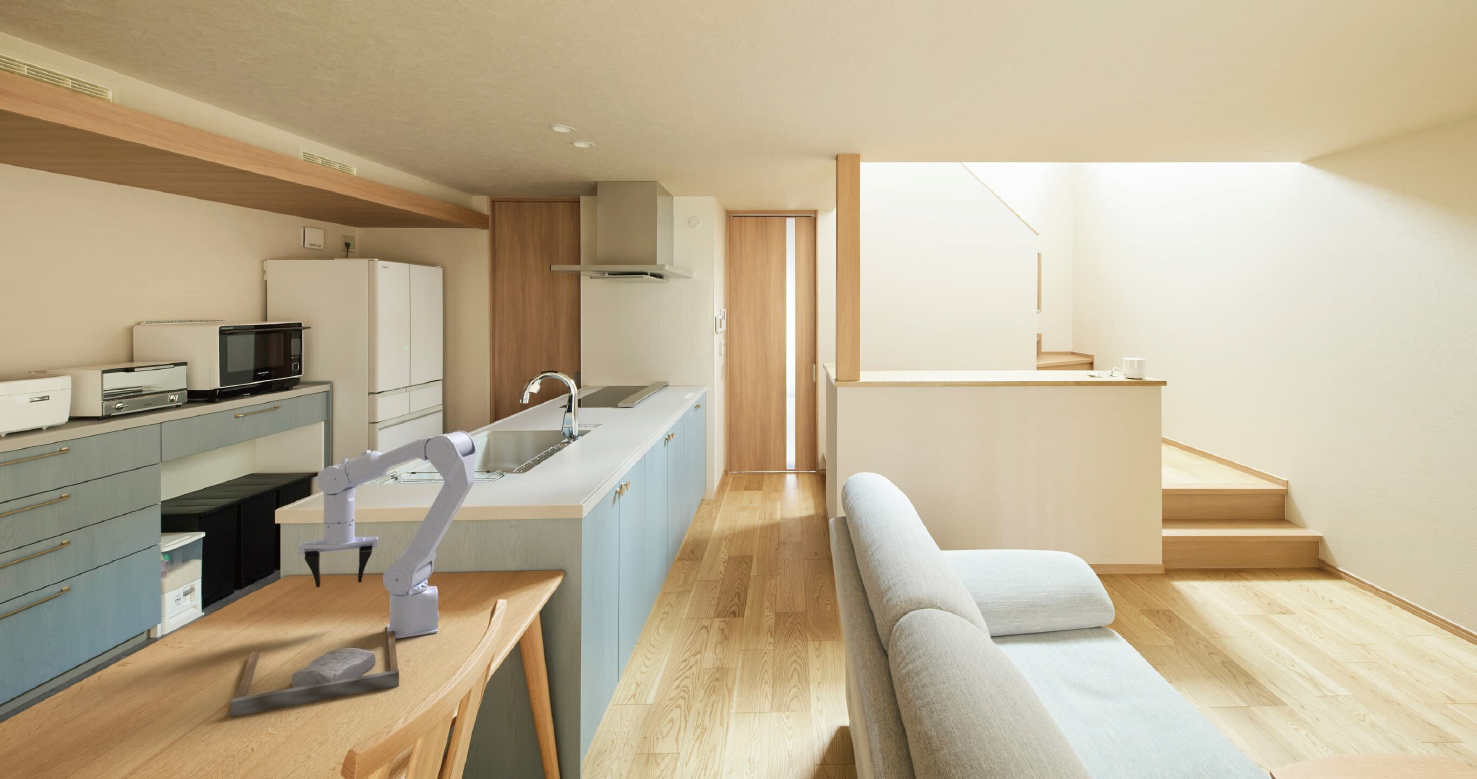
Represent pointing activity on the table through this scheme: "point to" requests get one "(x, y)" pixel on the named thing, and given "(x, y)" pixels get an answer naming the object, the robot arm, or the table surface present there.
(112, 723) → the table surface
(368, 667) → the stone block
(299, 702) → the u-shaped frame
